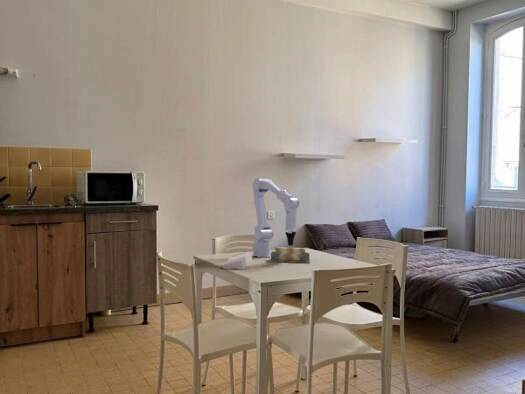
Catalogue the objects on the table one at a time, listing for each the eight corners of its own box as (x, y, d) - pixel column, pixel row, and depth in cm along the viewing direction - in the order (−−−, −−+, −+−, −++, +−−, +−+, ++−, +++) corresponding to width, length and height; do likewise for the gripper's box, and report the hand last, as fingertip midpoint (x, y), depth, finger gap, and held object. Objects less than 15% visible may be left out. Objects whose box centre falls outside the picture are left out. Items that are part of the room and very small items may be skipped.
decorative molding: (224, 274, 246) (244, 270, 245) (221, 265, 246) (241, 260, 245) (235, 263, 280) (253, 259, 279) (233, 255, 280) (250, 251, 279)
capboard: (269, 261, 270) (269, 253, 270) (271, 258, 281) (271, 250, 281) (309, 263, 267) (309, 254, 267) (310, 260, 278) (310, 252, 278)
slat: (275, 258, 274) (275, 247, 274) (275, 258, 276) (275, 247, 276) (304, 260, 272) (305, 248, 272) (305, 259, 274) (305, 248, 274)
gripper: (297, 221, 266) (297, 247, 266) (299, 219, 280) (298, 244, 281) (284, 220, 267) (283, 246, 267) (286, 219, 281) (285, 243, 281)
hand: (290, 245), depth 274 cm, fingers closed
